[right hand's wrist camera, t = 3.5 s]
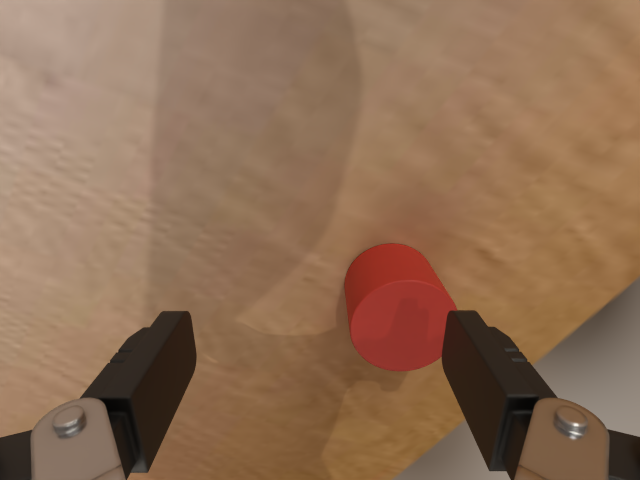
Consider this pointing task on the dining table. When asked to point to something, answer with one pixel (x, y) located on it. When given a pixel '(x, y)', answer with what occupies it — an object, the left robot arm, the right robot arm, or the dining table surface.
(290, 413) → the dining table surface
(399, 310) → the can
